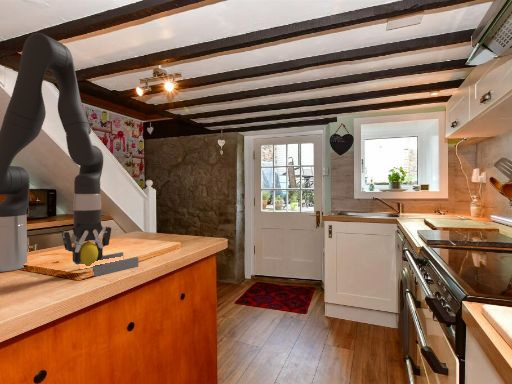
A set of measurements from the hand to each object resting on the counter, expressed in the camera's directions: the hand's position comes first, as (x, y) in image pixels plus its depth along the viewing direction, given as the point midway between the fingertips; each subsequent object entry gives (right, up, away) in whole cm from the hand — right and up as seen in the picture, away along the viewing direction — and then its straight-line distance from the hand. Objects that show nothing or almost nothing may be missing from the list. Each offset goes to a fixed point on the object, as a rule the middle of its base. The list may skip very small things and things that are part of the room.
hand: (88, 261), depth 91 cm
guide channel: (+4, -3, +5) cm, 7 cm away
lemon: (0, -2, 0) cm, 2 cm away
